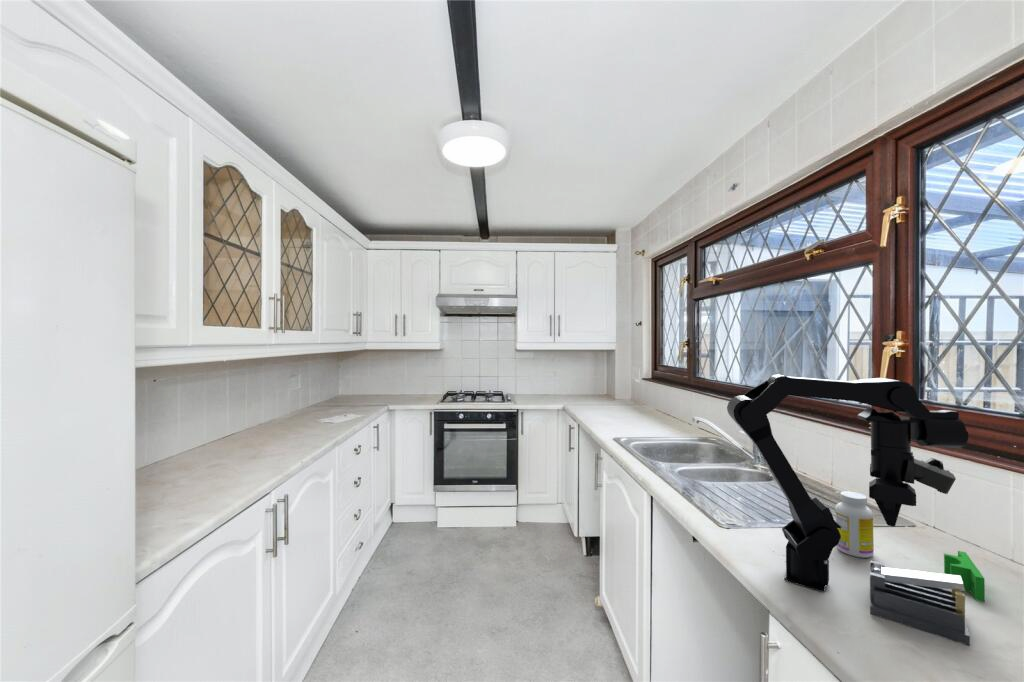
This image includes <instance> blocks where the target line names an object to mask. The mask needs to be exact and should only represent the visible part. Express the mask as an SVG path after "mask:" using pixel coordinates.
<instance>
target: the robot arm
mask: <svg viewBox="0 0 1024 682" xmlns="http://www.w3.org/2000/svg"><path fill="white" fill-rule="evenodd" d="M788 396H793V397H802V398H803V397H804V398H815V399H826V400H837V401H848V402H855V403H856V402H857V403H860V404H864V405H868V406H869V407H866V409H865V410H863V411H861V412H860V413H858V414H857V415H856V417H857V418H858V419H860V420H862V421H863V420H864V421H866V422H870V463H869V476H870V477H871V478H874V479H872V480H870V481H869V484H868V497H869V498H870V499H872V500H874V501H875V503H876V505H877V507H878V509H879V511H880V513H881V514H882V517H883V519H884V521H885V523H886V525H887V526H889V527H896V524H897V520H898V518H899V514H900V512H901V507H902V506H903V505H904V506H910V507H916V506H917V493H916V489H915V488H913V487H912V486H911V485H910V484H912V485H913V484H915V481H916V482H918V483H920V484H923V485H925V486H927V487H929V488H932V489H935V490H936V491H937V492H938V493H941V494H945V495H948V494H949V492H950V490H951V489H952V487H953V485H954V483H955V482H956V477H955V474H954V473H952V472H950V470H948V469H945V468H944V464H943V463H944V462H943V461H942V460H939V459H936V458H934V457H930V458H929V459H927V460H923V459H921V460H919V459H916V458H915V456H914V455H913V454H914V452H913V451H912V442H911V441H912V440H913V441H914V442H915V443H916V445H918V446H920V447H939V448H958V449H961V448H963V447H965V446H967V443H968V440H969V431H967V428H966V426H965V425H966V424H964V422H963V421H962V419H961V418H960V413H959V411H956V410H951V409H940V410H930V409H928V407H926V406H925V404H924V403H923V402H922V401H921V400H920V399H919V398H918V397H917V396H918V394H917V391H916V390H915V387H913V386H912V385H911V383H910V382H907V381H902V380H896V379H892V378H891V379H890V378H885V377H874V378H872V377H871V378H861V379H855V380H837V379H827V378H814V377H813V378H811V377H800V376H788V375H787V376H786V375H782V374H773V375H771V376H769V377H768V378H767V379H766V380H765V381H764V382H762V383H760V384H758V385H756V386H755V387H753V388H751V389H749V390H748V391H747V392H745V393H744V394H743V395H736V396H733V397H732V398H731V399H730V400H729V402H728V403H727V406H726V409H727V413H728V415H729V416H730V417H731V419H732V420H733V421H734V422H735V424H736V425H737V426H738V427H739V428H740V430H742V432H743V433H744V434H745V435H746V436H747V437H748V438H749V439H750V440H751V441H752V443H753V445H754V447H755V448H756V450H757V451H758V454H759V455H760V457H761V458H762V461H764V463H765V465H766V466H767V469H769V470H768V471H770V474H771V475H772V477H773V478H774V480H775V481H776V483H777V484H778V486H779V488H780V490H781V491H782V493H783V495H784V496H785V499H786V500H787V502H788V507H789V512H790V514H791V517H792V520H791V521H789V522H788V523H787V524H786V525H784V526H783V527H782V528H781V531H782V533H783V536H784V538H785V539H786V540H787V542H786V545H785V574H784V578H783V579H784V580H785V581H787V582H790V583H793V584H796V585H800V586H802V587H806V588H809V589H813V590H816V591H820V592H823V593H824V592H825V591H826V586H829V581H830V560H829V558H830V556H831V554H832V552H833V550H834V548H836V547H837V544H838V543H839V541H840V539H841V535H840V532H839V530H838V529H837V528H841V526H840V525H839V524H838V523H836V519H834V515H833V514H832V511H831V509H830V508H829V507H828V506H827V505H826V504H825V503H824V502H822V500H820V498H818V497H817V496H815V497H813V498H812V499H811V497H810V495H809V493H808V492H807V490H806V488H805V487H804V485H803V484H802V482H801V480H800V478H799V477H798V475H797V473H796V472H795V470H794V469H793V467H792V465H791V464H790V462H789V460H788V458H787V457H786V455H785V453H784V452H783V450H782V449H781V447H780V445H779V444H778V443H777V441H776V439H775V438H774V434H773V431H772V428H771V423H770V421H769V418H768V414H770V413H771V412H773V411H774V410H775V409H776V408H777V407H778V405H779V404H780V403H781V402H782V401H783V400H784V399H785V398H786V397H788ZM870 406H872V407H876V408H880V409H884V410H888V411H877V410H876V409H875V408H872V407H870ZM895 412H896V413H895ZM897 412H898V413H901V414H905V415H907V416H900V415H898V414H897Z"/></svg>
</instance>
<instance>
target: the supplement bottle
mask: <svg viewBox="0 0 1024 682" xmlns="http://www.w3.org/2000/svg"><path fill="white" fill-rule="evenodd" d="M839 497H840V500H841V502H837V503H836V505H835V506H834V507H835V512H834V513H835V522H836V523H838V524H839V525H840V526H841V528H837V529H838V530H839V532H840V535H841V539H840V541H839V543H838V544H837V546H836V547H837V549H838V550H839V551H840V552H842V553H844V554H846V555H849V556H852V557H857V558H864V559H865V558H871V557H873V555H874V554H875V553H874V550H875V549H874V545H875V544H874V513H873V511H872V509H870V508H869V507H868V506H867V503H868V498H867V496H866V495H865V494H862V493H859V492H854V491H849V490H847V491H846V490H845V491H841V492H840V496H839Z"/></svg>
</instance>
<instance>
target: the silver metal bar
mask: <svg viewBox="0 0 1024 682" xmlns="http://www.w3.org/2000/svg"><path fill="white" fill-rule="evenodd" d="M870 572H872V573H876V574H880V575H883V576H885V581H887V582H895V583H903V584H911V585H919V586H927V587H935V588H943V589H948V590H958V591H960V592H966V590H965V589H964V585H963V582H962V579H961V576H959V575H950V574H944V573H939V572H938V573H937V572H928V571H921V570H913V569H906V568H905V569H901V568H893V567H882V566H880V565H878V564H873V565H872V566H871V567H870Z"/></svg>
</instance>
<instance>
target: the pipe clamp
mask: <svg viewBox="0 0 1024 682" xmlns="http://www.w3.org/2000/svg"><path fill="white" fill-rule="evenodd" d="M943 567H944V568H943V569H944V570H943V574H950V575H959V576H961V579H962V582H963V585H964V589H965V592H970V591H971V592H970V594H972V596H973V597H974V599H975V600H976V601H980V602H985V601H986V597H985V591H986V590H985V588H986V586H985V577H984V575H983V574H982V572H981V571H980V570H979V569H978V568H977V566H976V565H975V563H974V562H973V560H972V559H971V557H970V556H969V555H968V553H967V552H966V551H960V550H957V555H954V554H948V553H943Z"/></svg>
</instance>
